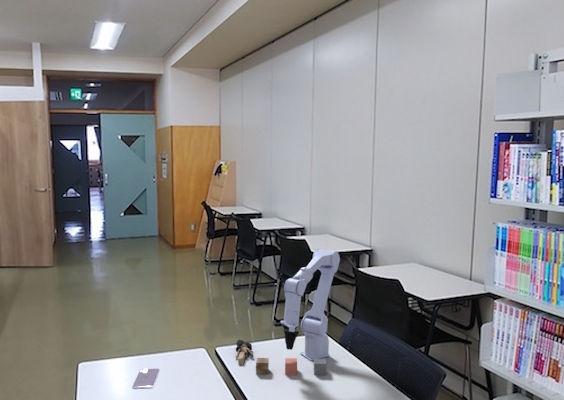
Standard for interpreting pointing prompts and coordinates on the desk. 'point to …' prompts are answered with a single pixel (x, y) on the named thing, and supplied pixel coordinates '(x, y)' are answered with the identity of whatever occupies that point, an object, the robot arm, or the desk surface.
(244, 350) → the toy figure
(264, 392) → the desk surface
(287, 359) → the red block
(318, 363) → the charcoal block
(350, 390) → the desk surface
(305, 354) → the robot arm
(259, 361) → the walnut block
